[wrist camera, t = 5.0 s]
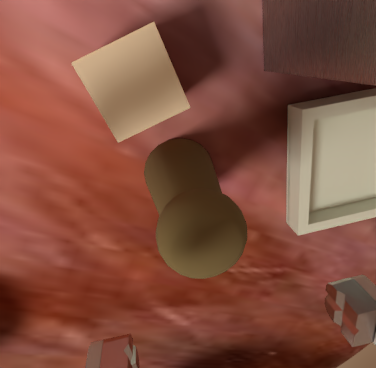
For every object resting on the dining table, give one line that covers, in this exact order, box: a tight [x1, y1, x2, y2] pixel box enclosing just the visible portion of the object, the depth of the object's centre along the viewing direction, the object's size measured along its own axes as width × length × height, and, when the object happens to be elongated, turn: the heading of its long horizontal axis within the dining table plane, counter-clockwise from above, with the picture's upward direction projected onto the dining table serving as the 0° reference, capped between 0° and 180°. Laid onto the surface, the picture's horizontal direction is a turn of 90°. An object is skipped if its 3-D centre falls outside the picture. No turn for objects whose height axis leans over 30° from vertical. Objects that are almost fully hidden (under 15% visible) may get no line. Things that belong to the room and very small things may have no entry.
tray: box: [286, 88, 376, 235], centre depth 25 cm, size 12×12×2 cm
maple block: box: [72, 22, 190, 143], centre depth 18 cm, size 5×5×5 cm
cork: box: [144, 138, 247, 279], centre depth 19 cm, size 6×6×11 cm
